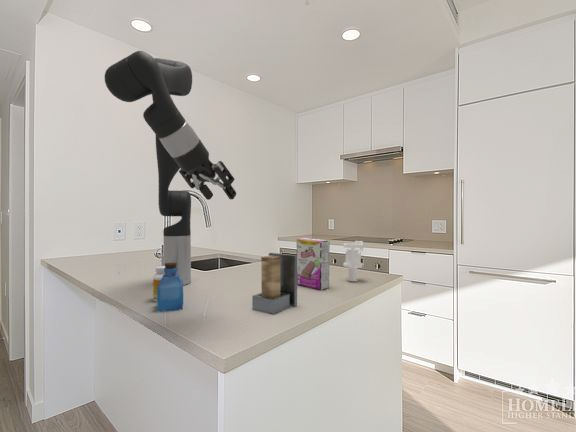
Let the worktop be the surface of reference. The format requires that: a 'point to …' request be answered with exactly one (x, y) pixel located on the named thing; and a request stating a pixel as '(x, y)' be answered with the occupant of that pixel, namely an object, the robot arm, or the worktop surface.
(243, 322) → the worktop surface
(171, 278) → the perfume bottle
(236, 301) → the worktop surface
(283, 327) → the worktop surface
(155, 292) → the supplement bottle
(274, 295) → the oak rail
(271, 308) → the grey holder with backboard
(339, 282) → the worktop surface
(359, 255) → the white upright piece
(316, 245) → the candy bar box
